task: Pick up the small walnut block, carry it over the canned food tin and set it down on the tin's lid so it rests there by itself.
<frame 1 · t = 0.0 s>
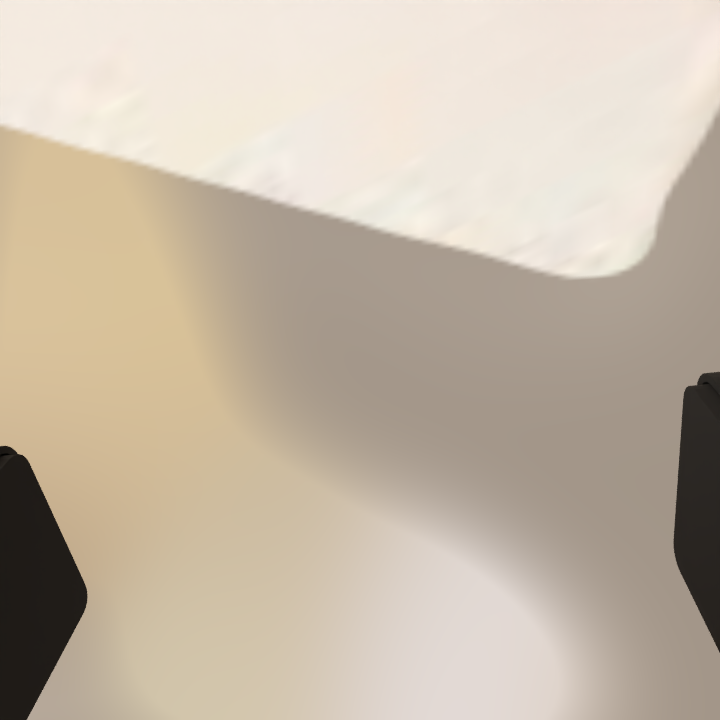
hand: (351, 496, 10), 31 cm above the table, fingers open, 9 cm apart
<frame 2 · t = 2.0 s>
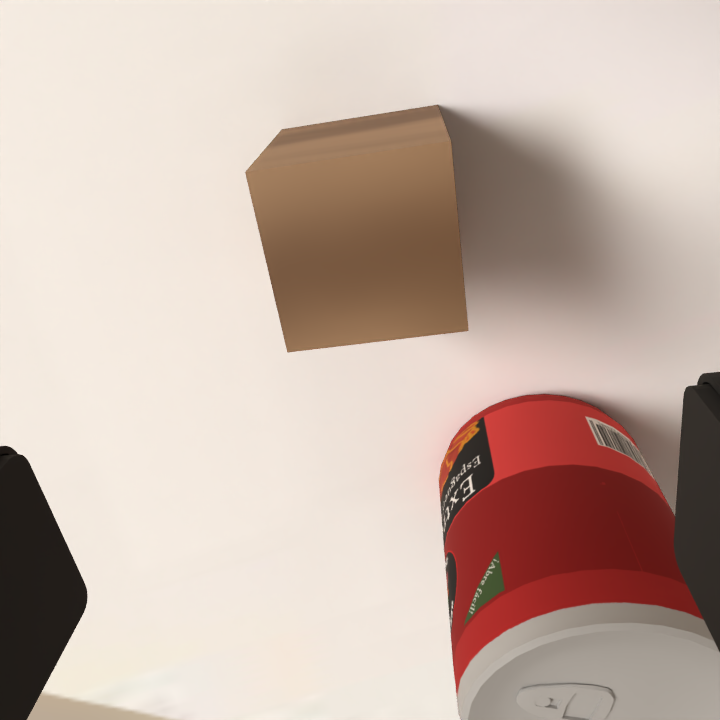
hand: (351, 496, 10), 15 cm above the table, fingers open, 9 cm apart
walnut block: (370, 194, 23), on the table
canned food: (534, 464, 28), on the table
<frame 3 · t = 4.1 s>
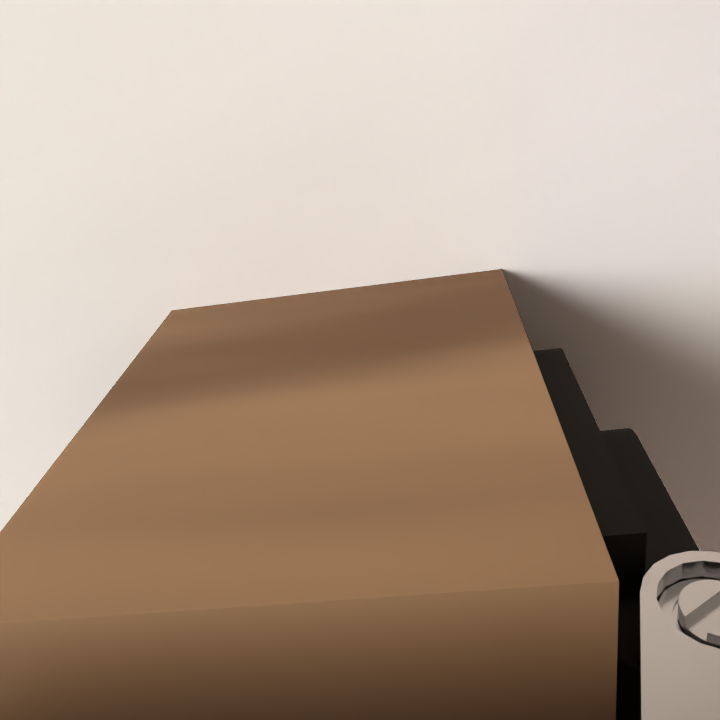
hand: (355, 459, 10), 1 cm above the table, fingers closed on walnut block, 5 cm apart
walnut block: (358, 430, 11), on the table, touching gripper
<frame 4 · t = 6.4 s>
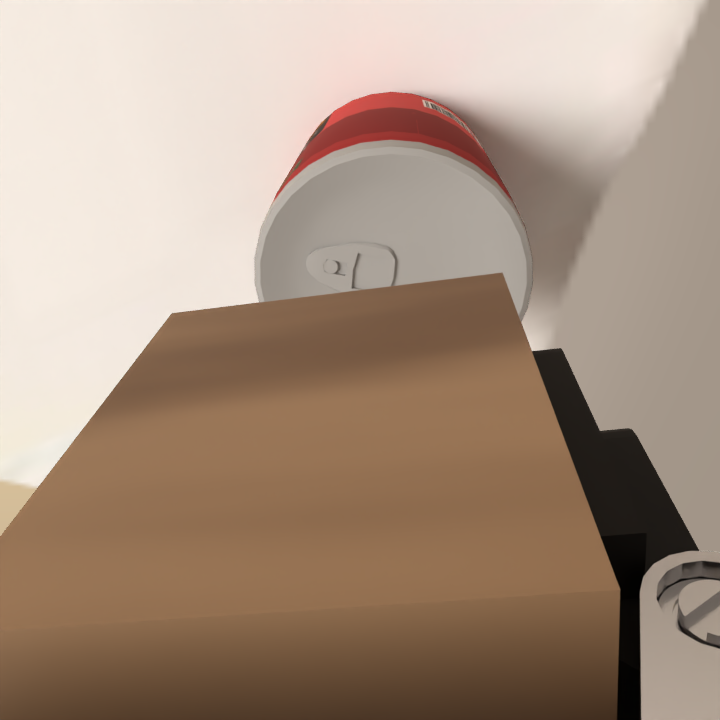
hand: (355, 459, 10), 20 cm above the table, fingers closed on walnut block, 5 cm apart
walnut block: (358, 433, 11), point 19 cm above the table, touching gripper
canned food: (392, 183, 29), on the table
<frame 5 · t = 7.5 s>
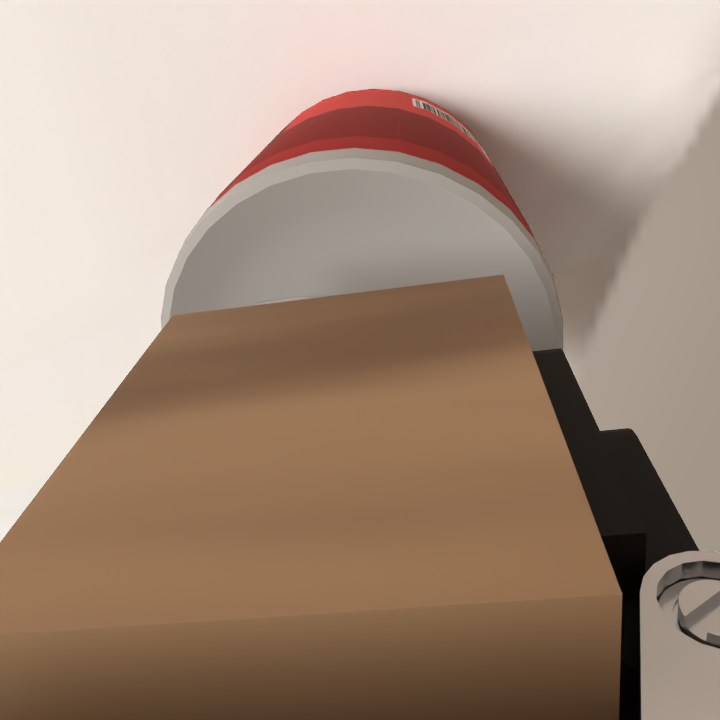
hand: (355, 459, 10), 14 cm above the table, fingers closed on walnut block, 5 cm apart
walnut block: (359, 435, 11), point 13 cm above the table, touching gripper
canned food: (377, 204, 23), on the table
when the fingers open (12 cm above the table, at t = 8.6 s): walnut block stays where it is, resting on canned food.
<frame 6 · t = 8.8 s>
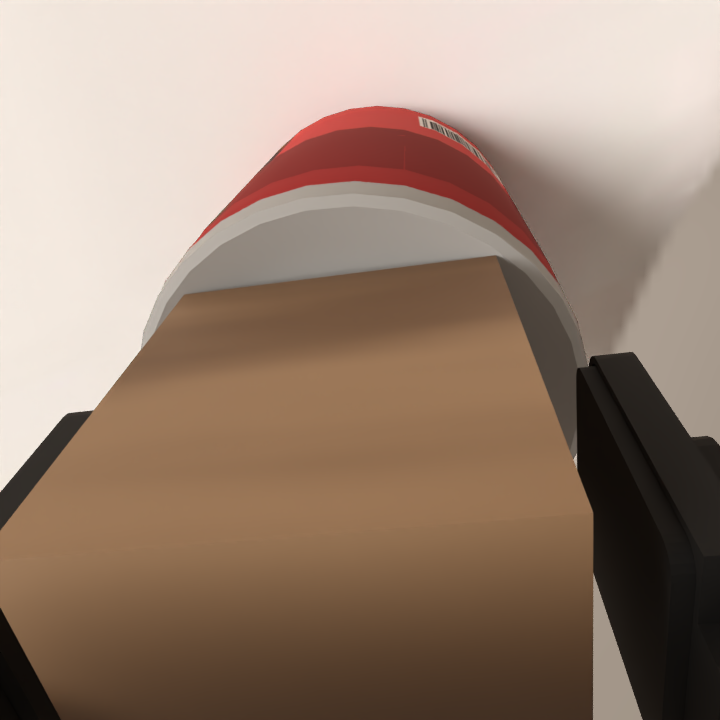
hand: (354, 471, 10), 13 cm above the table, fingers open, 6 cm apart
walnut block: (359, 410, 12), point 11 cm above the table, touching canned food
canned food: (381, 227, 22), on the table, touching walnut block
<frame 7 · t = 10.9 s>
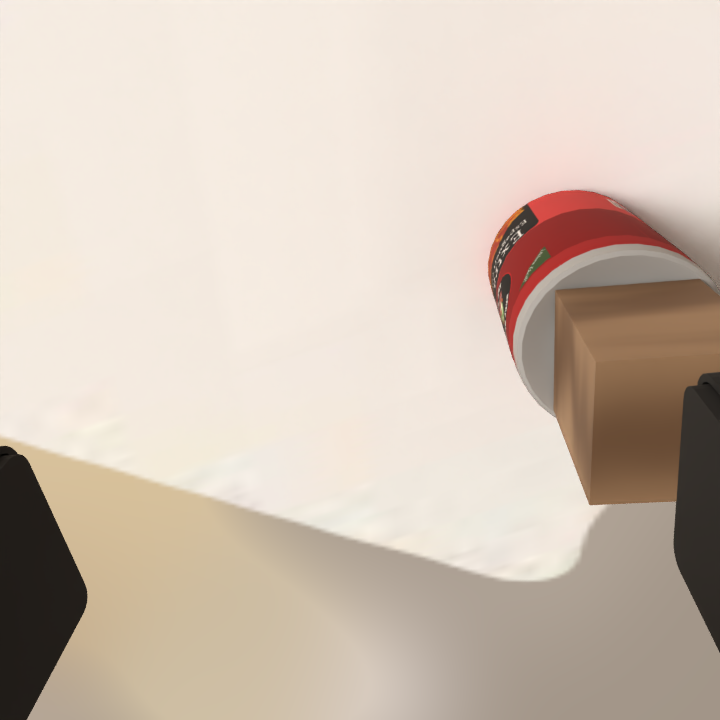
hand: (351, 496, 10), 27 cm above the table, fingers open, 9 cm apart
walnut block: (622, 347, 25), point 11 cm above the table, touching canned food
canned food: (562, 259, 35), on the table, touching walnut block
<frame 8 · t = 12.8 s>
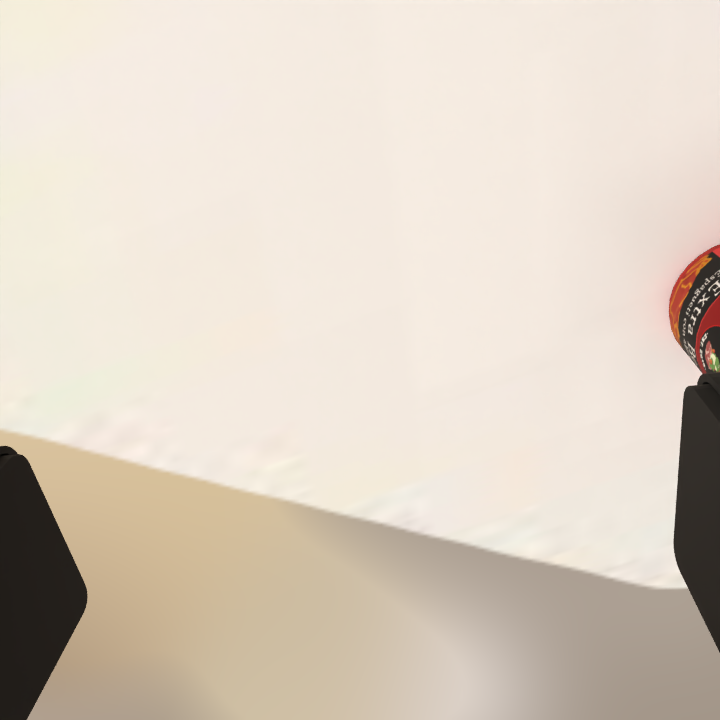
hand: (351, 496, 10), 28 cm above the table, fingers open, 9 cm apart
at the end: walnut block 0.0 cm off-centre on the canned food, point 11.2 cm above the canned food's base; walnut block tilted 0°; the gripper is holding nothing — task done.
